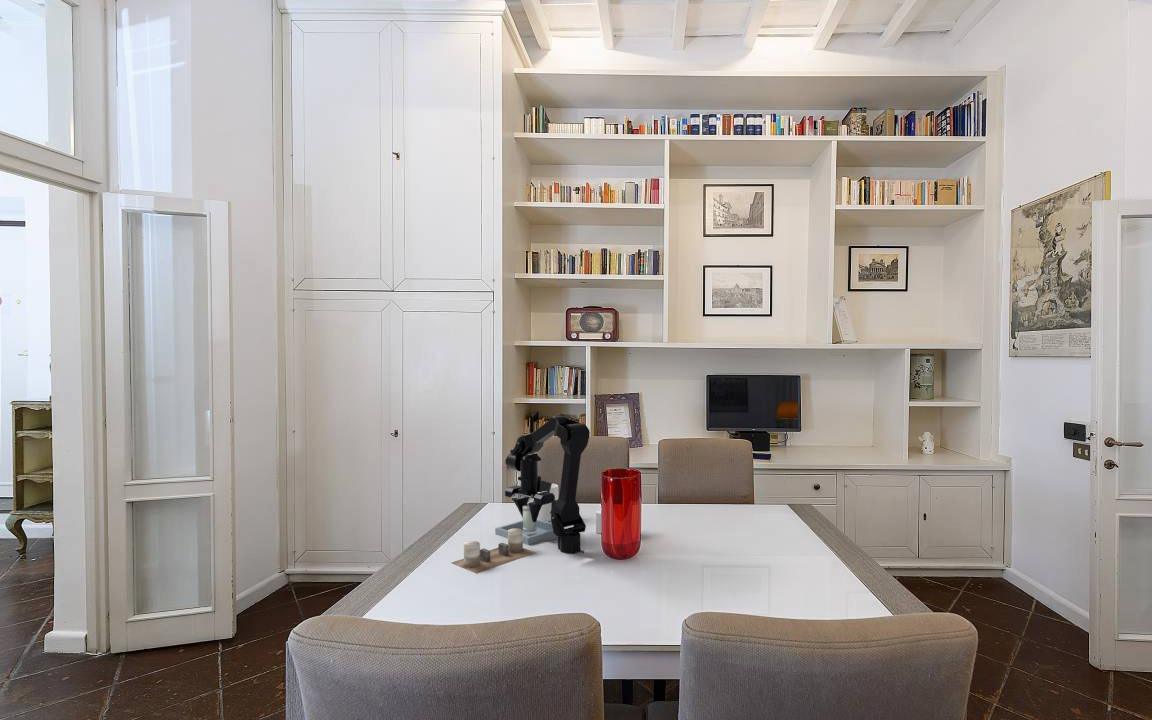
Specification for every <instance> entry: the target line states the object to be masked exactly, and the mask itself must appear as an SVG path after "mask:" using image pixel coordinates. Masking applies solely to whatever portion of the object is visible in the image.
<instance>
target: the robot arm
mask: <svg viewBox="0 0 1152 720" xmlns="http://www.w3.org/2000/svg"><path fill="white" fill-rule="evenodd" d="M590 431H591V430H590V428H589V427H588V426H587V424H585V423H583V422H580V421H578V420H574V419H571V418H569V417H567V416H564V415H556V416H552V417H550V418H549V420H548V421H546V422H545V423H543V424H542V425H541V426H540V427H538V428H537V429H535V430H534V431H532V432H530V433H527V434H523V435H521V436H518V437H517V441H516V443H515V445H514V446H513V447H514V448H513V449H510V451H509V452H510V453H508V454H507V456H506V458H505V462H504V463H505V466H506V467H507V468H508V469H509V470H512V471H517V472H520V476H518V477H517V480H518V481H520V485H512V486H508V487H506V488H505V490H504V496H505V497H508V498H511V501H513V502H514V504H515V505H516V508H517V510H518V512H519V514H520V516H521V517H522V519H523V505H525V504H527V503H528V500H529V499H530V498H532V501H531V503H529V507H530V512H531V517H532V520H533V522H536V521H537V518H538V515H539V512H540V509H541V507H542V505H545V504H549V503H552V504H551V512H550V514H551V521H550V523H552V528H553V532H554V534H556V536H558V538H557V549H558V550H559V551H560V552H561V553H563V554H568V555H569V554H572V555H574V554H578V553H583V554H585V550H582V549H581V548H582V547H581V533H585V531H586V528H587V525H586V523H585V522H584V520H583V517H582V516H581V513H580V506H579V504H578V501H577V500H576V498H577V491H578V480H579V474H580V465H581V457H582V454H583V452H584V451H585V450H586V448H587V446H588V444H589V439H590V436H591V435H590V433H591V432H590ZM553 436H556V437H558V439H560V440H559V441H560V443H559V444H560V446H561V448H562V449H563V451H564V453H563V463H562V471H561V479H560V487H559V488H560V489H559V494H558V500H555V495H554V494H553V493H549V492H550V489H551V484H553V483H552V482H548V481H545V480H542V476H540V475H539V465H538V463H539V462H541V461H542V458H541V457H540V456H539V454H538V452H540V450H541V449H542V448H543V447H544V443H545V442H546V441H548V440H549V439H550V438H552V437H553ZM542 491H547V492H542ZM538 492H542V493H538Z"/></svg>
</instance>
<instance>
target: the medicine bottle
mask: <svg viewBox="0 0 1152 720" xmlns="http://www.w3.org/2000/svg"><path fill="white" fill-rule="evenodd" d="M601 505H602V497H601V498H600V506H601ZM601 510H602V509H600V510H597V511H595V533H596V534H600V535H602V534H601Z"/></svg>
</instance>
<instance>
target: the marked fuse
mask: <svg viewBox="0 0 1152 720" xmlns="http://www.w3.org/2000/svg"><path fill="white" fill-rule="evenodd" d="M522 520H523V531H524V532H534V531H536V530H537V526H536V522H533V520H532V517H531V512H530V507H529V504H525V505H523V518H522Z"/></svg>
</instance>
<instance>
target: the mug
mask: <svg viewBox="0 0 1152 720" xmlns="http://www.w3.org/2000/svg"><path fill="white" fill-rule="evenodd" d="M542 492H547V491H542ZM542 492H538V493H542ZM549 493H553V494H554V495H555V500H558V498H559V485H558V484H556V483H552V484H551V489H550V492H549ZM532 501H533V498H530V499H529V500H528V503H527V504H529V503H531V502H532ZM551 504H552V503H549V504H545V505H542V507H541V509H540V512H539V515H538V518H537V519H538V520H541V521H545V522H549V523H551V514H550V512H551Z"/></svg>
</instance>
